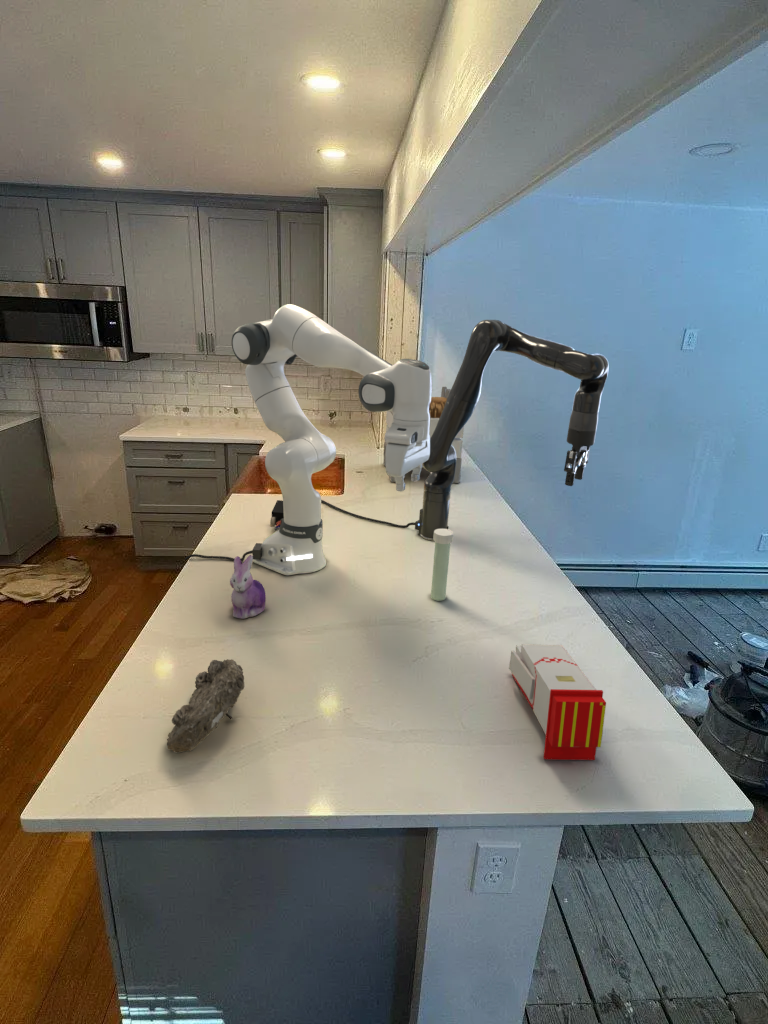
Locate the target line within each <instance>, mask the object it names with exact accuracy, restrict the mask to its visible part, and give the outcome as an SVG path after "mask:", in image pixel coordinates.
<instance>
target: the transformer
mask: <svg viewBox="0 0 768 1024" xmlns="http://www.w3.org/2000/svg"><path fill="white" fill-rule="evenodd" d="M450 391H451V388H447V386H442V387H441V392H440V393H441V394H440V396H431V402H430V405H429V414H430V429H429V435H430V438H431V436H432V434H433V432H434V430H435V428H436V426H437V423H438V421H439V418H440V416H441V413H442V411H443V408H444V406H445V403H446V400H447V398H448V395H449V393H450ZM385 412H386V413H385V414H386V415H385V423H386V428H385V433H386V432H387V431H388V429H389V428H390V426H391V424H392V423H393V413H392V412H391V411H385ZM464 429H465V425H464V426H463V428H462V429H461V430H460V431H459V433H458V434H457V435H456V437H455V438H454V440H453V442H452V444H451V445H452V446H453V447H454V449H455V451H456V468H455V476H454V481H453V483H452V484H455V483H456V484H459V483H461V472H462V461H463V460H462V453H463V442H464V441H463V440H462V439H463V438H464V431H465V430H464ZM387 443H388V442H385V441H384V442H383V466H384V467H386V465H385V453H386V446H387ZM422 467H424V466H423V464H422ZM388 478H389V480H390V482H391V483H396V482H395V479H394V476H389V475H388Z"/></svg>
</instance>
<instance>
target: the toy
mask: <svg viewBox="0 0 768 1024" xmlns="http://www.w3.org/2000/svg"><path fill="white" fill-rule="evenodd" d="M510 651H511V653H510V658H509V659H510V660H509V666H508V669H509V671H510V672H511V676H512V678H513V679H514V681H515V682H516V685H517V686H518V688H519V690H520V691H521V692H522V694H523V697H525V699H526V701H527V703H528V704H529V706H530V708H531V709H532V711H533V713H534V715H535V717H536V719H537V721H538V723H539V725H540V727H541V728H542V731H543V732H544V734H545V739H544V750H543V760H555V761H557V760H560V761H561V760H562V761H563V760H564V761H565V760H567V761H570V760H571V761H595V760H596V754H597V748H601V746H602V740H603V738H602V737H603V732H604V723H605V716H606V707H607V701H606V700H605V698H603V696H604V691H603V690H602V689H597V688H596V687H595V686H594V684H593V683H592V682H591V681H590V679H589V677H587V675H586V674H585V673H584V671H583V670H582V669H581V667H580V666H579V664H578V663H576V660H574V659H573V658H572V656H571V655H570V653H569V652H568V650H567V649H566V648H565V647H564V645H562V644H529V643H525V644H524V643H523V644H522V643H521V645H520V644H519V645H518V644H517V645H515V650H514V649H513V650H510Z"/></svg>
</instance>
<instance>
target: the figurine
mask: <svg viewBox="0 0 768 1024" xmlns="http://www.w3.org/2000/svg"><path fill="white" fill-rule="evenodd" d="M253 563H254V562H253V556H252V554H249V555H247V557H246V558H245V559H244V560H243V561H241V558H240V556H239V555H237V556H235V557H234V561H233V573H232V575H231V577H230V579H229V585H230V586H231V588H232V589H233V590H232V592H231V594H230V599H231V604H232V606H233V607H232V617H234V618H236V619H248V618H252V617H255V616H258V615H260V614H261V613H262V612H264V611H265V608H266V601H267V600H266V599H267V597H266V590H265V587H264V585H263V584H262V582H260V581H259V580H257V579H254V578H253V576H252V573H251V570H252V569H251V568H252V565H253Z"/></svg>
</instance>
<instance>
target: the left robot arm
mask: <svg viewBox="0 0 768 1024" xmlns="http://www.w3.org/2000/svg"><path fill="white" fill-rule="evenodd" d="M231 348H232V352H233V354H234V356H235V357H236V359H237V360H238V361H239V362H240V363H241V364H244V365H246V366H245V370H244V371H245V372H244V374H245V379H246V382H247V386H248V389H249V392H250V395H251V396H252V399H253V401H254V404H255V405H256V408H257V410H258V413H259V414H260V417H261V418H262V420H263V423H264V425H265V426H266V428H267V429H268V430H269V431H271V432H273V433H275V434H276V435H278V436H279V437H280V438H281V439H282V440H283V441H284V442H281V443H279V444H277V445H276V446H274V447H273V448H271V449H270V450H268V452H267V453H266V455H265V459H264V467H265V470H266V472H267V474H268V476H269V477H270V478H271V479H272V480H274V481H275V482H276V483H277V485H278V486H279V489H280V491H281V495H282V501H283V510H284V518H283V519H281V520H280V521H279V522H277V523H278V524H277V523H276V524H277V525H275V527H276V526H278V525H280V528H279V527H278V529H277V531H275V532H273V533H272V534H270V535H269V536H267V537H266V538H264V539H263V541H262V542H256V543H255V544H254V546H253V548H252V550H249V551H246V552H245V553H243V554H242V557H241V558H240V559H241V562H244V561H245V560H246V556H249V555H252V556H253V562H252V563H254V564H256V565H259V566H261V567H264V568H267V569H269V570H271V571H274V572H276V573H279V574H282V575H284V576H293V575H298V574H311V573H315V572H318V571H320V570H322V569H324V568H325V567H326V565H327V560H326V557H325V552H324V547H323V534H324V533H323V531H324V530H323V527H324V526H323V525H324V524H323V523H324V522H323V519H322V502H321V500H322V495H321V494H320V492H319V491H318V490H316V489H315V488H314V486H313V482H312V475H313V474H315V473H318V472H321V471H324V470H325V469H327V468H328V467H329V466H330V465H331V464H332V463H333V462H334V461H335V459H336V456H337V449H336V445H335V442H334V441H333V440H332V439H331V438H330V437H329V436H328V435H325V434H324V433H322V432H321V431H320V430H319V429H317V427H316V426H314V424H313V423H312V422H311V421H310V419H309V418H308V417H307V416H306V414H305V412H304V411H303V410H302V408H301V406H300V404H299V402H298V399H297V398H296V396H295V395H296V394H295V393H294V391H293V390H292V389H293V388H292V387H291V384H290V383H289V380H288V379H287V377H286V374H285V365H292V364H293V363H294V361H295V360H296V358H299V359H301V360H302V361H304V362H305V363H307V364H309V365H312V366H314V367H317V368H323V369H342V370H347V371H348V370H349V371H352V372H355V373H357V374H359V375H361V376H362V378H361V380H360V382H359V385H358V399H359V401H360V404H361V405H362V407H363V408H364V409H365V410H367V411H368V412H371V413H378V414H379V413H384V412H387V411H391V412H392V413H393V423H392V424H391V426H390V428H389V429H388V431H387V432H386V431H385V433H384V442H388V443H387V446H386V453H385V465H386V466H385V472H386V474H387V476H388V477H389V476H394V479H395V482H394V483H395V486H396V487H395V489H396V491H397V492H400V493H401V492H404V491H405V490H406V483H405V480H404V479H405V478H406V475H407V474H408V473H410V472H411V471H412V472H411V474H410V481H411V482H414V483H417V482H419V481H420V479H421V477H420V476H421V472H422V468H423V466H422V463H424V462H426V461H427V460H428V459H429V456H430V435H429V429H430V414H429V405H430V402H431V397H433V396H432V393H433V392H432V391H433V380H432V379H433V378H432V370H431V368H430V366H429V365H428V364H427V363H426V362H424V361H422V360H419V359H412V358H400V359H399V360H397V361H396V362H395V363H394V364H392V363H390V362H389V361H386V360H385V359H384V358H382V357H380V356H379V355H377V354H375V353H374V352H373V351H371V350H369V349H367V348H366V347H364V346H363V345H360V344H359V343H358V342H355V341H353V339H351V338H349V337H348V336H346V335H344V334H343V333H341V332H340V331H339V330H337V329H336V328H334V327H332V325H330V324H329V323H327V322H326V321H324V320H323V319H322V318H320V317H318V316H317V315H316V314H314V313H312V312H311V311H309V310H307V309H306V308H304V307H301V306H298V305H295V304H293V303H292V304H291V303H289V304H288V303H287V304H284V305H281V307H279V308H278V309H277V310H276V311H275V313H274V315H273V317H272V319H264V320H262V321H257V322H248V323H244V324H243V325H240V326H238V327H236V329H235V330H234V331H233V333H232V335H231ZM190 558H202V559H211V560H212V559H216V560H229V561H232V562H234V559H235V557H231V556H220V555H204V554H197V553H193V554H189V555H187V556H186V557H185V558H184V560H185V561H187V560H189V559H190Z"/></svg>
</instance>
